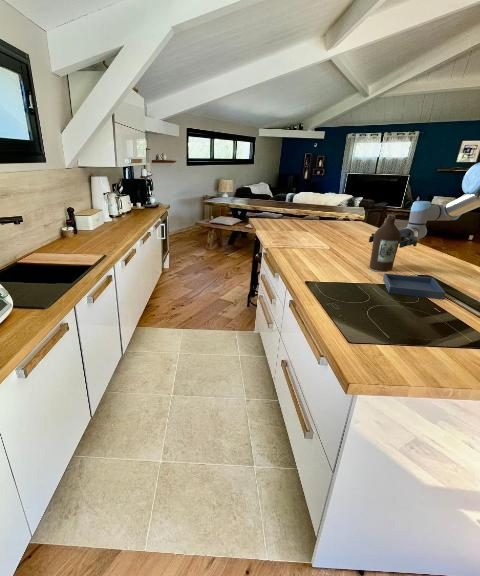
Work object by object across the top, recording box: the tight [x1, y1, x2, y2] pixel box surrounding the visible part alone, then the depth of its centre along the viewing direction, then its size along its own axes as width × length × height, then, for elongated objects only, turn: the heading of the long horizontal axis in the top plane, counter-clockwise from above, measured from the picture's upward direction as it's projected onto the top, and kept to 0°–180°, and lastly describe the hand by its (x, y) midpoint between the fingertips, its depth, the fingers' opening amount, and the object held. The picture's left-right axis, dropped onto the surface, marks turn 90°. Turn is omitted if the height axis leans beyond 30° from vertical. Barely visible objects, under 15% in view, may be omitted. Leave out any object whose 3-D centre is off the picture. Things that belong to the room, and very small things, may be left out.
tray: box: [382, 272, 446, 300], centre depth 125 cm, size 18×17×3 cm
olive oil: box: [369, 214, 401, 272], centre depth 145 cm, size 11×11×25 cm
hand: (384, 242), depth 144 cm, fingers open, 13 cm apart
